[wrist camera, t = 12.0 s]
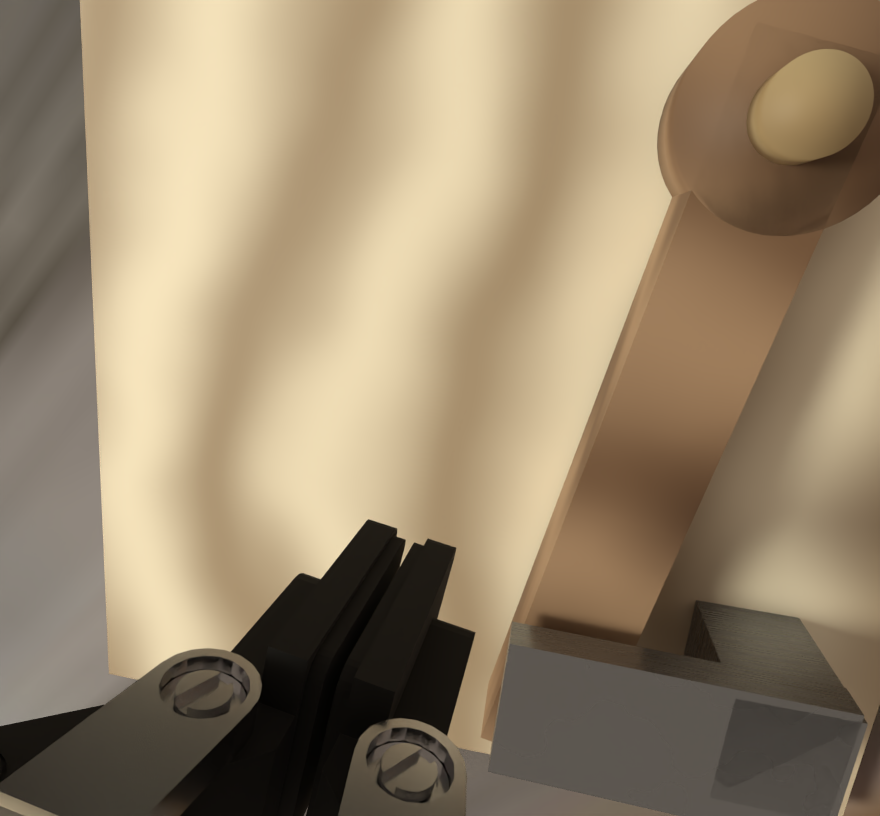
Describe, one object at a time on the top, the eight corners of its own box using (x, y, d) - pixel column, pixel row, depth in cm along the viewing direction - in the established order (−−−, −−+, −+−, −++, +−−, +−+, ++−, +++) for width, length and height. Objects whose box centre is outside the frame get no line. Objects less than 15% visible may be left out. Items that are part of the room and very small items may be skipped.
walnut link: (702, -2, 16) (745, -70, 12) (909, 54, 15) (1014, -1, 12) (460, 672, 22) (441, 756, 18) (604, 725, 21) (614, 821, 18)
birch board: (1080, -29, 16) (1131, -55, 15) (820, 790, 23) (838, 828, 21) (110, -70, 19) (75, -94, 18) (133, 649, 26) (109, 673, 25)
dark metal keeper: (802, 607, 20) (871, 711, 15) (769, 722, 21) (826, 849, 16) (516, 559, 21) (506, 643, 16) (500, 670, 22) (487, 776, 17)
